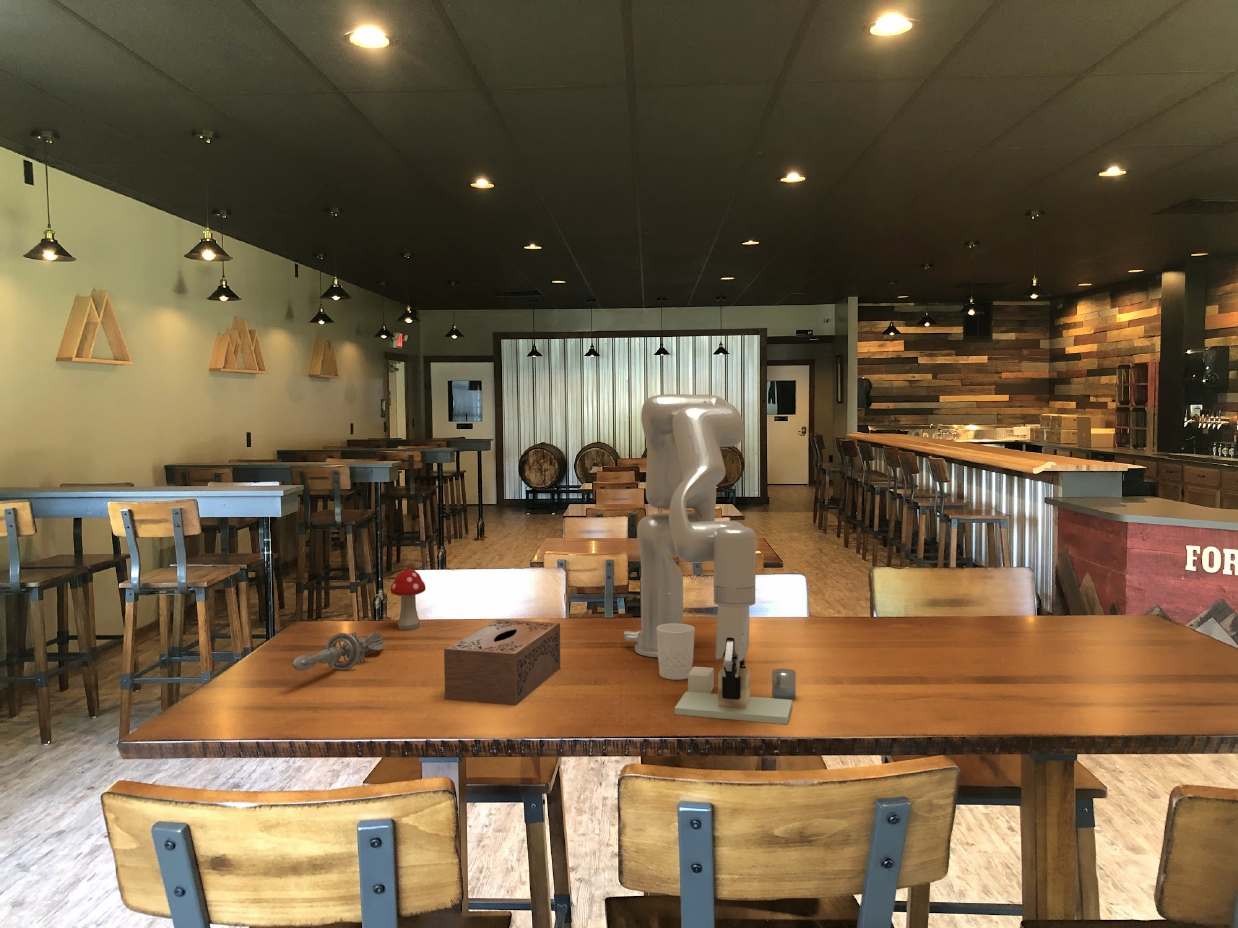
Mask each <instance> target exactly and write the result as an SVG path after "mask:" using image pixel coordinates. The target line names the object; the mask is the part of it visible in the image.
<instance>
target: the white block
mask: <svg viewBox="0 0 1238 928" xmlns="http://www.w3.org/2000/svg"><path fill="white" fill-rule="evenodd" d="M714 678H715V668H714V667H707V666H705V667H704V666H692V670H691V671H690V673H689V674H688V678H687V692H699V693H712V691H713V690H714V687H715V679H714Z"/></svg>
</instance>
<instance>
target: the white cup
mask: <svg viewBox="0 0 1238 928" xmlns="http://www.w3.org/2000/svg"><path fill="white" fill-rule="evenodd" d="M657 649H658V657H657V659H658V660H657V661H658V674H659V677H660V678H663V679H666V680H673V681H676V680H686V679H687V680H688V674H689V673H690V671H691V670H692V668H693V663H694V654H695V653H694V650H695V627H694V626H693V625H690V624H687V623H686V624H685V623H683V624H663V625H659V626H657Z"/></svg>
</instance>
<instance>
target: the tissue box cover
mask: <svg viewBox="0 0 1238 928" xmlns="http://www.w3.org/2000/svg"><path fill="white" fill-rule="evenodd" d="M443 657H444V658H443V660H444V662H443V664H444V668H443V669H444V672H443V673H444V677H443V678H444V701H456V702H457V701H458V702H469V703H480V704H494V705H503V706H505V705H506V706H517V705H518V704H520V703H521V702H522V701H523V700H525V698H527V697H528V696H529V695H530V694H532V693H533V692H534V691H535V690H536V689H537V688H539V687H540V686H541V685H542V684H543V683H545V682H546V681H547V680H548V679H550V678H551V677H552V676H553V675H554V674H555V673H556V672H558V671H559V670H560V669H561V623H560V622H551V621H550V622H547V621H546V622H545V621H534V620H533V621H532V620H531V621H530V620H529V621H528V620H515V619H497V618H496V619H495V620H494V621H491V622H490V623H488V624H487V625H484V626H483V627H481V628H479V629H477V630H476V631H473V632H472V633H470V634H468V635H467V636H465V637H463V638H461V639H460V640H458V641H456V642H454V643H453V644H450V645H449V646H447V647H446V648H444V649H443Z"/></svg>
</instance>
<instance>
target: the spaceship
mask: <svg viewBox="0 0 1238 928" xmlns="http://www.w3.org/2000/svg"><path fill="white" fill-rule="evenodd" d="M383 638H384V636H383V635H382V634H380V633H378V632H376V631H373V632H372V633H371V634H370V635H369V636H367V637H358V635H357V632H356V631H354V632H351V633H346V632H338V633H335V634H334V635H333V636H332V637H330V638H329V639H328V641H327V643H326V644H323V645H322V650H320V651H319V652H318V653H316V654H312V653H305V654H301V655H299V656H297V657H296V658H295V659H294V660H293V661H292V667H293V669H295V670H297V671H300V672H301V671H307V670H310V669H313V668H314V667H315V666H316V665H317V664H323V665H328V667H329V668H331V667H333V668H334V669H336V670H337V671H338V670H339V671H348V670H350V669H352V668H353V667H354V666H356V664H360V663H363V662H366V658H365V657H366V656H368V655H369V654H370V653H372V652H373V651H374V650H376V651H381V650H382V648H384V646H385V644H386V642H385V641H384V640H383ZM341 642H343V643H341ZM337 644H338V645H339V647H338V646H337ZM341 658H342V659H343V660H344V661H341ZM346 658H347V659H346Z"/></svg>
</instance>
